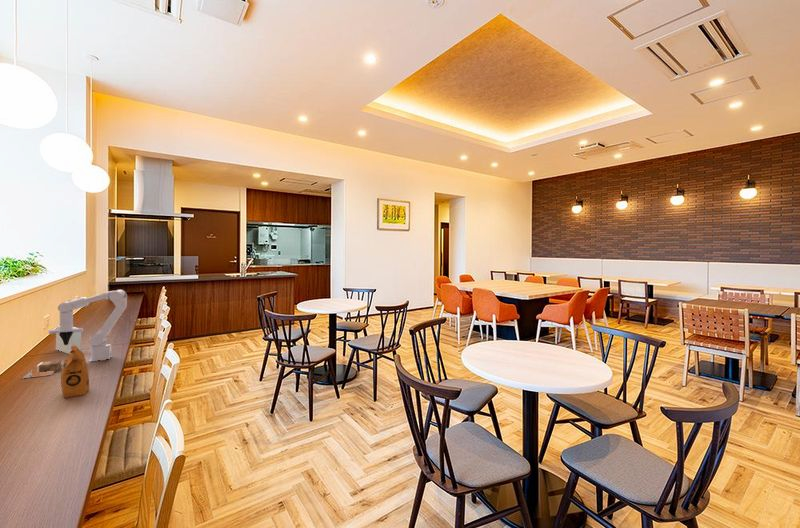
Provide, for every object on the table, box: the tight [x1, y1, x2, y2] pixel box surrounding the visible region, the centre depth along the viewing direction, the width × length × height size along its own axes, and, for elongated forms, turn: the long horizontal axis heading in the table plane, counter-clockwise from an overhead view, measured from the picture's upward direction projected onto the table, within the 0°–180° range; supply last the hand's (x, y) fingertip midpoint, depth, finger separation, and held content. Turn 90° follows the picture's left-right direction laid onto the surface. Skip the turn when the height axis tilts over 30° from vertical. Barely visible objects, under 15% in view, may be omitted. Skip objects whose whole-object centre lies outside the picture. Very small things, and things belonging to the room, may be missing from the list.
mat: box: [21, 363, 63, 380], centre depth 188 cm, size 11×20×1 cm, turn 32°
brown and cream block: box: [36, 359, 62, 373], centre depth 189 cm, size 4×6×8 cm
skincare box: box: [55, 325, 82, 355], centre depth 223 cm, size 21×6×16 cm, turn 65°
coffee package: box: [60, 345, 90, 399], centre depth 162 cm, size 10×12×22 cm
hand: (66, 344), depth 203 cm, fingers closed
